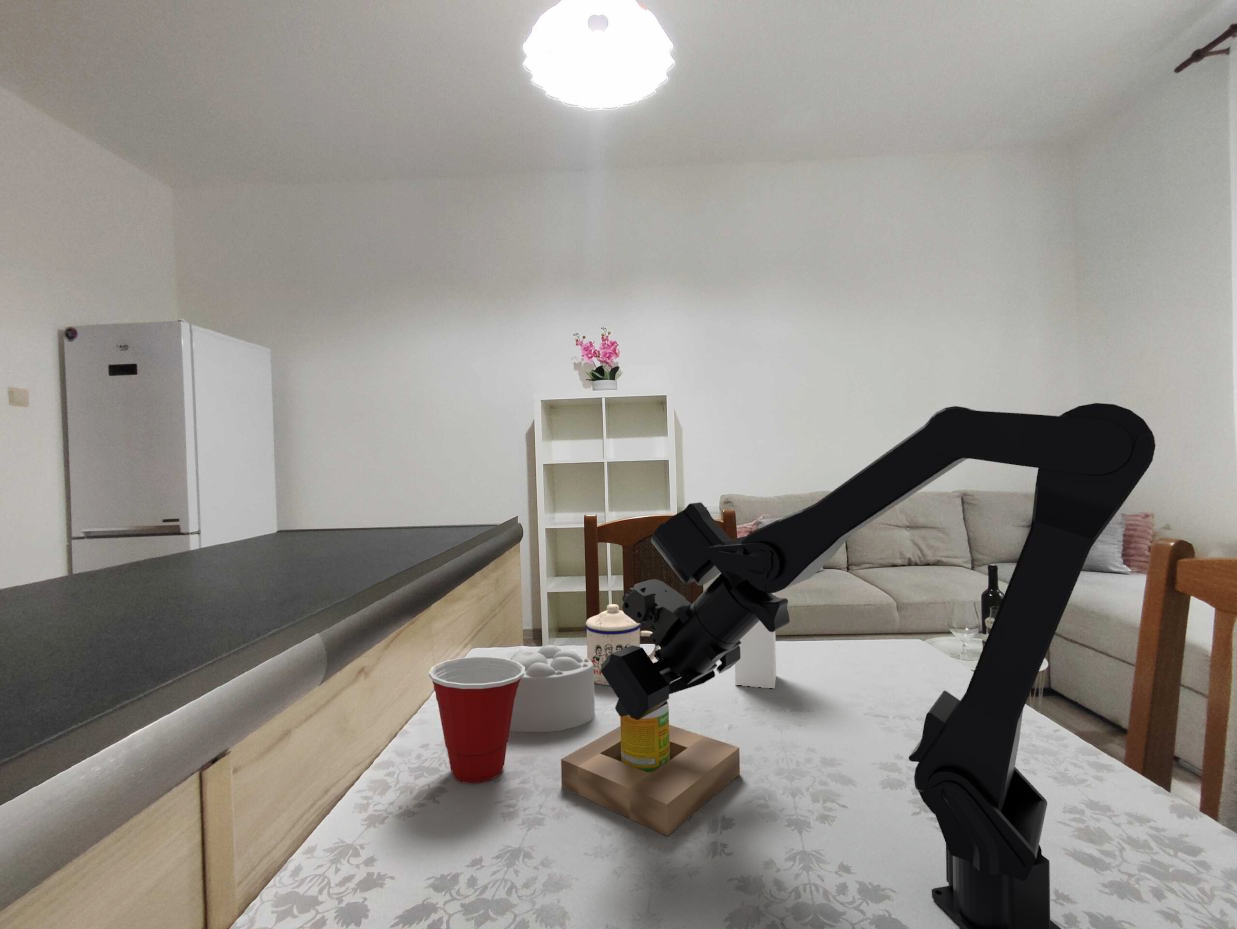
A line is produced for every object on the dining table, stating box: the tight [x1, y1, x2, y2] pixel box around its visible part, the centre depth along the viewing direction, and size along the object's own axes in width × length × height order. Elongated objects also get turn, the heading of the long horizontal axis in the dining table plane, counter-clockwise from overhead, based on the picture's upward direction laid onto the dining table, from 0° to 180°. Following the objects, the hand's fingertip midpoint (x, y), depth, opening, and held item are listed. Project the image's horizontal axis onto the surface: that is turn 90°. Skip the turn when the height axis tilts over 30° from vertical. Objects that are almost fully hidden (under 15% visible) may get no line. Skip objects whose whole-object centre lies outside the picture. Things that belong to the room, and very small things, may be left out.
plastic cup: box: [428, 656, 525, 784], centre depth 69 cm, size 11×11×12 cm
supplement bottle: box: [619, 700, 670, 774], centre depth 67 cm, size 5×5×10 cm
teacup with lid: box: [584, 603, 660, 687], centre depth 98 cm, size 12×9×12 cm
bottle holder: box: [560, 724, 741, 837], centre depth 66 cm, size 14×14×3 cm
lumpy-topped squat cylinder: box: [505, 644, 596, 733], centre depth 84 cm, size 10×13×9 cm
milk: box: [734, 593, 777, 690], centre depth 95 cm, size 6×6×22 cm
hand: (634, 703), depth 68 cm, fingers closed on supplement bottle, 5 cm apart
